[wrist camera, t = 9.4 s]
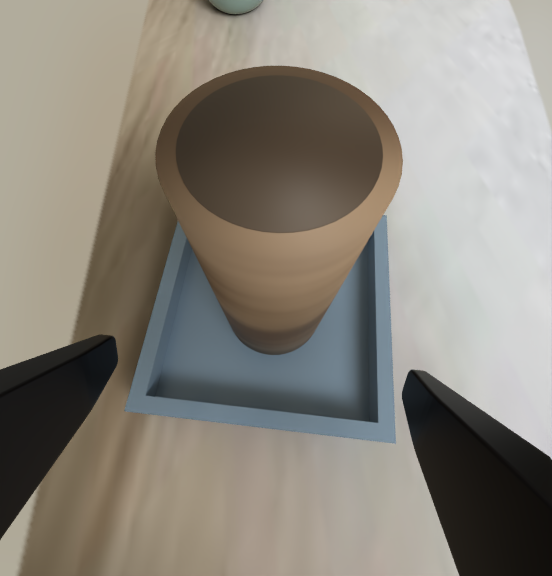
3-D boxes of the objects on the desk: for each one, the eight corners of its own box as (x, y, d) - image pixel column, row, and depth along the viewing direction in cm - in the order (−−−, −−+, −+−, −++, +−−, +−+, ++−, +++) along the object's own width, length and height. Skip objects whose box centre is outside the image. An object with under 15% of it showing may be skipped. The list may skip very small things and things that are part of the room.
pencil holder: (331, 342, 17) (446, 221, 6) (237, 365, 17) (168, 279, 5) (305, 259, 19) (355, 51, 8) (220, 277, 19) (145, 80, 7)
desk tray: (379, 439, 16) (395, 443, 14) (142, 411, 16) (124, 411, 14) (375, 234, 21) (386, 215, 19) (193, 215, 21) (185, 194, 19)
